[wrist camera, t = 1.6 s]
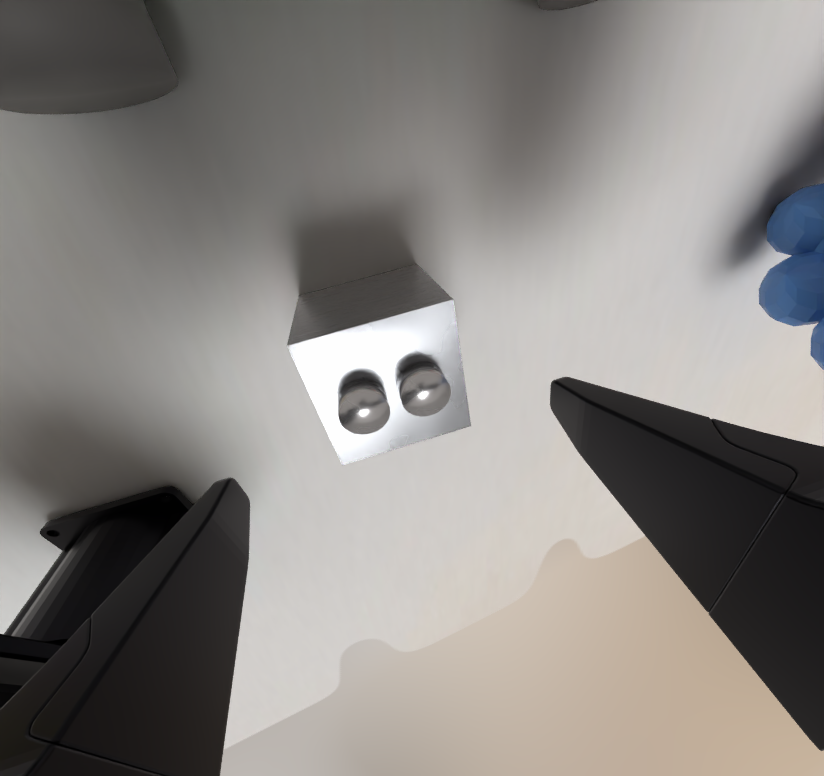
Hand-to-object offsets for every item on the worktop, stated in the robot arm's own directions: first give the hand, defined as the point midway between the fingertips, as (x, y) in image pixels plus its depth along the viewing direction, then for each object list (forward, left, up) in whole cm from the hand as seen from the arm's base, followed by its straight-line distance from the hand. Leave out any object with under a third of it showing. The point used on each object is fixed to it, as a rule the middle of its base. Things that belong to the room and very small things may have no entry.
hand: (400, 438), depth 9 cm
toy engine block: (0, 0, -7) cm, 7 cm away
